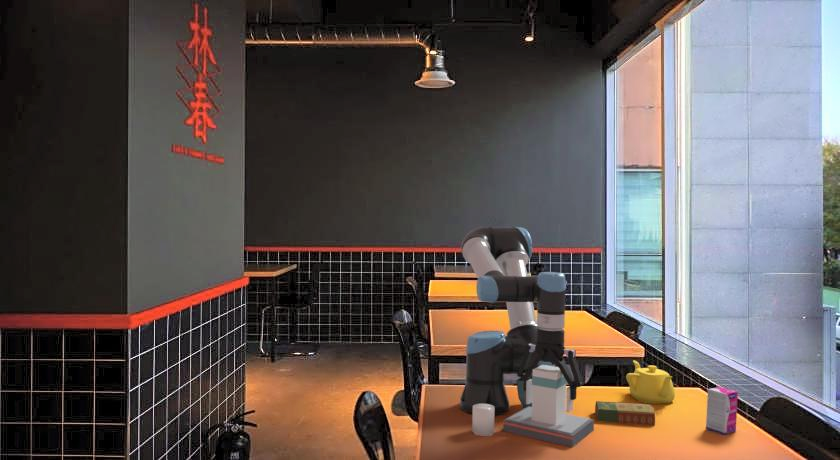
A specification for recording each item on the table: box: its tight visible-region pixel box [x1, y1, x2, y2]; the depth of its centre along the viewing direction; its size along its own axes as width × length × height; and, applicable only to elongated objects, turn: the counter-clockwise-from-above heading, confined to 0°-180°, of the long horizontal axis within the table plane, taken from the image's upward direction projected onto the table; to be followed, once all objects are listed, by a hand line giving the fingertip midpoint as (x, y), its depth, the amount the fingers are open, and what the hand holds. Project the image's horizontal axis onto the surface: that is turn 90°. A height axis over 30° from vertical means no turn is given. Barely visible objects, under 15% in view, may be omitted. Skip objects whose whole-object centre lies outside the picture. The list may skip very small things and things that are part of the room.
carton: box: [594, 400, 656, 426], centre depth 183 cm, size 8×16×4 cm, turn 78°
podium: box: [502, 406, 595, 448], centre depth 172 cm, size 20×16×3 cm
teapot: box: [625, 360, 676, 405], centre depth 204 cm, size 22×16×11 cm
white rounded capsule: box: [471, 404, 496, 437], centre depth 170 cm, size 6×6×7 cm
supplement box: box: [705, 386, 739, 435], centre depth 175 cm, size 6×6×12 cm
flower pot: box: [515, 376, 532, 409], centre depth 193 cm, size 9×9×9 cm
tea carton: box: [532, 365, 567, 425], centre depth 172 cm, size 7×7×14 cm
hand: (549, 407), depth 172 cm, fingers open, 11 cm apart
